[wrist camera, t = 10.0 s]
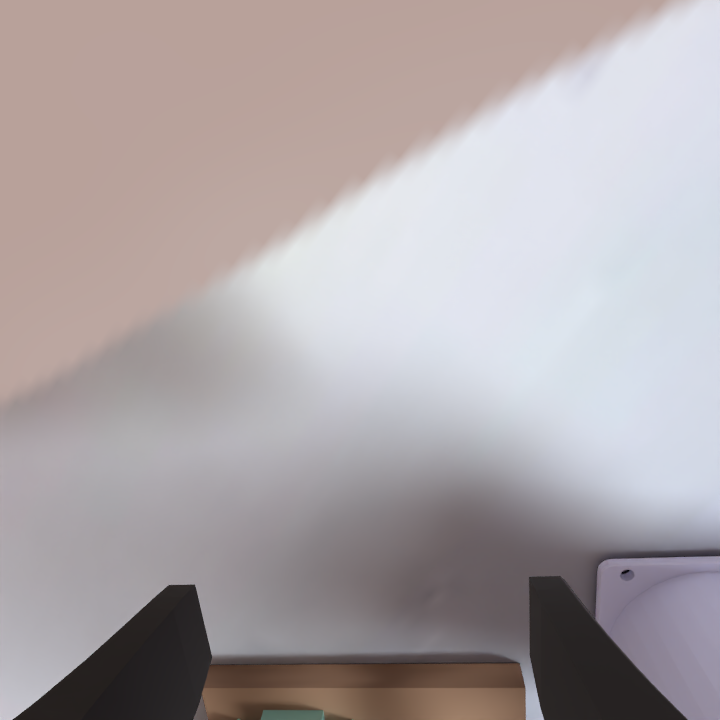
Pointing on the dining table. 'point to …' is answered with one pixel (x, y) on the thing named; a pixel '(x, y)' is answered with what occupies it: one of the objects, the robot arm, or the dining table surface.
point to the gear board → (368, 691)
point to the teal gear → (292, 715)
